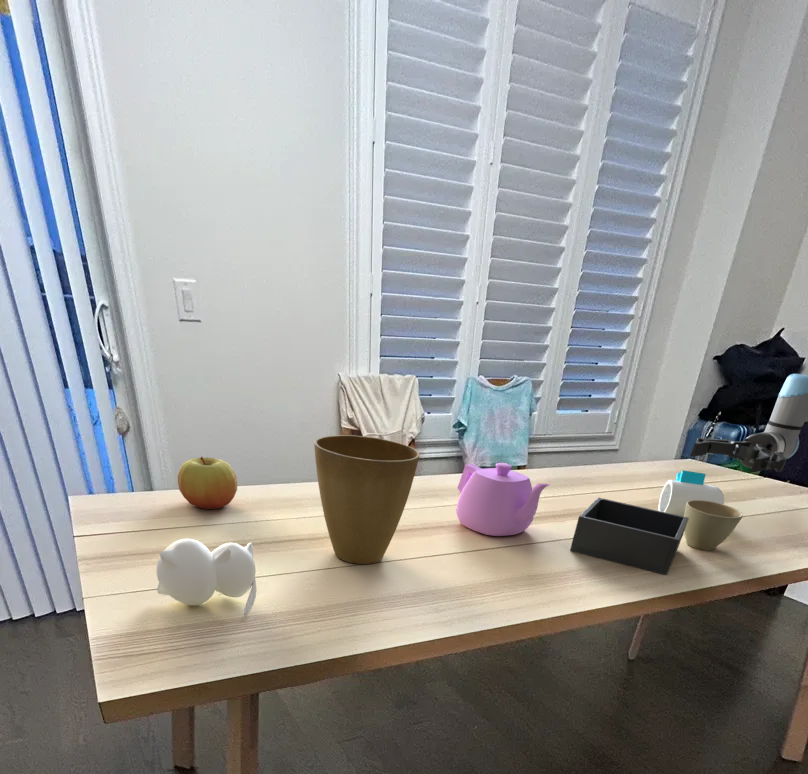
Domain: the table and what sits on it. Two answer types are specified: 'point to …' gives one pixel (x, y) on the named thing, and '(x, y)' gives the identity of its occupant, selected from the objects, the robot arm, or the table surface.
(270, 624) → the table surface
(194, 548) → the cat figurine
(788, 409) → the robot arm
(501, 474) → the teapot
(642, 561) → the open storage box
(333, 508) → the plant pot
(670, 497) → the mug
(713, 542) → the flower pot
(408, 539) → the table surface
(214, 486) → the apple
